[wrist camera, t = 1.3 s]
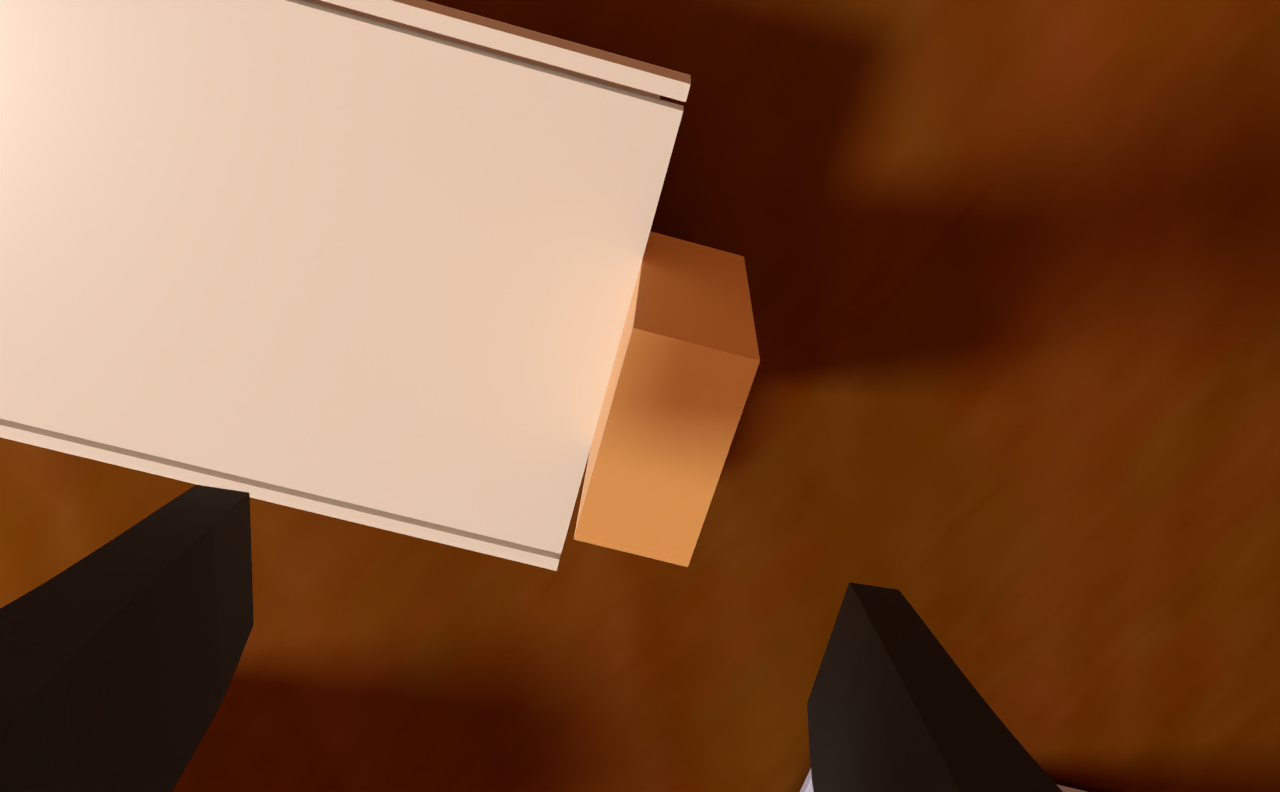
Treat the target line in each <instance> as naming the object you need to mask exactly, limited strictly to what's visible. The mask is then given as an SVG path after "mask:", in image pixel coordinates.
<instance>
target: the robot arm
mask: <svg viewBox="0 0 1280 792" xmlns="http://www.w3.org/2000/svg"><path fill="white" fill-rule="evenodd" d="M252 627H253V595H252V562H251V529H250V496H249V492H242V491H236V490H229V489H222V488H216V487H209V486H202V485H196V486H194V487H192V488H191V489H189V490H188V491H186V492H184V493H183V494H181V495H180V496H178V497H177V498H175V499H173V500H172V501H170V502H169V503H167V504H166V505H164V506H163V507H161V508H160V509H158V510H157V511H155V512H154V513H152V514H151V515H149V516H148V517H146V518H145V519H143V520H142V521H140V522H139V523H137V524H136V525H134V526H133V527H131V528H130V529H128V530H127V531H125V532H123V533H122V534H120V535H119V536H117V537H116V538H114V539H113V540H111V541H110V542H108V543H107V544H105V545H104V546H102V547H101V548H99V549H98V550H96V551H94V552H93V553H91V554H90V555H88V556H87V557H85V558H83V559H82V560H80V561H79V562H77V563H76V564H74V565H72V566H71V567H69V568H68V569H66V570H65V571H63V572H61V573H60V574H58V575H57V576H55V577H53V578H52V579H50V580H49V581H47V582H46V583H44V584H42V585H41V586H39V587H37V588H35V589H34V590H32V591H30V592H28V593H27V594H25V595H23V596H22V597H20V598H18V599H16V600H15V601H13V602H11V603H9V604H8V605H6V606H4V607H3V608H1V609H0V792H172V790H173V789H174V787H175V785H176V783H177V781H178V780H179V778H180V776H181V774H182V773H183V771H184V769H185V767H186V766H187V764H188V762H189V760H190V759H191V757H192V755H193V753H194V751H195V750H196V748H197V746H198V744H199V742H200V741H201V739H202V737H203V735H204V734H205V732H206V730H207V728H208V726H209V725H210V723H211V721H212V719H213V717H214V715H215V714H216V712H217V710H218V708H219V706H220V704H221V703H222V701H223V698H224V696H225V693H226V691H227V689H228V686H229V684H230V682H231V679H232V677H233V675H234V672H235V670H236V667H237V665H238V662H239V660H240V657H241V655H242V652H243V650H244V647H245V645H246V642H247V640H248V637H249V634H250V632H251V629H252ZM807 707H808V727H809V747H810V761H811V769H810V771H809V773H808V775H807V778H806V780H805V782H804V784H803V786H802V788H801V790H800V792H1087V791H1082V790H1078V789H1074V788H1069V787H1065V786H1061V785H1057V784H1056V783H1055V782H1054V781H1053V780H1052V779H1051V778H1050V777H1049V776H1048V775H1047V773H1046V772H1045V771H1044V770H1043V769H1042V768H1041V767H1040V766H1039V765H1038V763H1037V762H1036V761H1035V760H1034V759H1033V758H1032V757H1031V756H1030V755H1029V753H1028V752H1027V751H1026V750H1025V749H1024V747H1023V746H1022V745H1021V744H1020V743H1019V742H1018V740H1017V739H1016V738H1015V737H1014V736H1013V735H1012V733H1011V732H1010V731H1009V730H1008V729H1007V727H1006V726H1005V725H1004V724H1003V723H1002V721H1001V720H1000V719H999V718H998V717H997V715H996V714H995V713H994V712H993V710H992V709H991V708H990V707H989V706H988V704H987V703H986V702H985V701H984V699H983V698H982V697H981V696H980V694H979V693H978V692H977V691H976V689H975V688H974V687H973V686H972V684H971V683H970V682H969V680H968V679H967V678H966V677H965V675H964V674H963V673H962V672H961V670H960V669H959V668H958V666H957V665H956V664H955V662H954V661H953V660H952V659H951V657H950V656H949V655H948V653H947V652H946V651H945V649H944V648H943V647H942V646H941V644H940V643H939V642H938V640H937V639H936V638H935V636H934V635H933V634H932V632H931V631H930V630H929V628H928V627H927V626H926V624H925V623H924V622H923V621H922V619H921V618H920V617H919V615H918V614H917V613H916V611H915V610H914V609H913V608H912V606H911V605H910V604H909V602H908V601H907V600H906V599H905V597H904V596H903V595H902V594H901V592H900V591H899V590H896V589H890V588H883V587H876V586H870V585H863V584H856V583H849V585H848V588H847V591H846V594H845V597H844V599H843V602H842V605H841V608H840V611H839V614H838V617H837V620H836V622H835V625H834V628H833V631H832V634H831V637H830V640H829V643H828V645H827V648H826V651H825V654H824V657H823V660H822V663H821V666H820V668H819V671H818V674H817V677H816V680H815V683H814V686H813V688H812V691H811V694H810V697H809V700H808V703H807Z"/></svg>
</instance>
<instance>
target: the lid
mask: <svg viewBox="0 0 1280 792" xmlns="http://www.w3.org/2000/svg"><path fill="white" fill-rule="evenodd" d="M321 1H325V2H328V3H332V4H335V5H339V6H343V7H346V8H350V9H353V10H357V11H361V12H364V13H368V14H371V15H375V16H378V17H382V18H386V19H389V20H393V21H396V22H400V23H404V24H407V25H411V26H414V27H418V28H421V29H425V30H429V31H432V32H436V33H439V34H443V35H447V36H450V37H454V38H457V39H461V40H464V41H468V42H472V43H475V44H479V45H482V46H486V47H489V48H493V49H497V50H500V51H504V52H507V53H511V54H515V55H518V56H522V57H525V58H529V59H532V60H536V61H540V62H543V63H547V64H550V65H554V66H558V67H561V68H565V69H568V70H572V71H575V72H579V73H583V74H586V75H590V76H593V77H597V78H601V79H604V80H608V81H611V82H615V83H618V84H622V85H626V86H629V87H633V88H636V89H640V90H643V91H647V92H651V93H654V94H658V95H661V96H665V97H669V98H672V99H676V100H679V101H683V102H686V100H687V96H688V92H689V89H690V85H691V75H689V74H685V73H682V72H678V71H675V70H671V69H667V68H664V67H660V66H657V65H653V64H650V63H646V62H643V61H639V60H635V59H632V58H628V57H625V56H621V55H618V54H614V53H611V52H607V51H603V50H600V49H596V48H593V47H589V46H586V45H582V44H579V43H575V42H571V41H568V40H564V39H561V38H557V37H554V36H550V35H547V34H543V33H540V32H536V31H532V30H529V29H525V28H522V27H518V26H515V25H511V24H508V23H504V22H500V21H497V20H493V19H490V18H486V17H483V16H479V15H476V14H472V13H468V12H465V11H461V10H458V9H454V8H451V7H447V6H444V5H440V4H436V3H433V2H429V1H426V0H321ZM682 114H683V105H679V104H675V103H672V102H668V101H665V100H661V99H657V98H654V97H650V96H647V95H643V94H639V93H636V92H632V91H629V90H625V89H622V88H618V87H614V86H611V85H607V84H604V83H600V82H596V81H593V80H589V79H586V78H582V77H579V76H575V75H571V74H568V73H564V72H561V71H557V70H553V69H550V68H546V67H543V66H539V65H536V64H532V63H528V62H525V61H521V60H518V59H514V58H510V57H507V56H503V55H500V54H496V53H492V52H489V51H485V50H482V49H478V48H475V47H471V46H467V45H464V44H460V43H457V42H453V41H449V40H446V39H442V38H439V37H435V36H432V35H428V34H424V33H421V32H417V31H414V30H410V29H406V28H403V27H399V26H396V25H392V24H389V23H385V22H381V21H378V20H374V19H371V18H367V17H363V16H360V15H356V14H353V13H349V12H345V11H342V10H338V9H335V8H331V7H328V6H324V5H320V4H317V3H313V2H310V1H306V0H0V437H2V438H6V439H10V440H14V441H18V442H22V443H27V444H31V445H35V446H39V447H43V448H47V449H52V450H56V451H60V452H64V453H68V454H72V455H77V456H81V457H85V458H89V459H93V460H97V461H101V462H106V463H110V464H114V465H118V466H122V467H126V468H131V469H135V470H139V471H143V472H147V473H151V474H156V475H160V476H164V477H168V478H172V479H176V480H181V481H185V482H189V483H193V484H197V485H202V486H209V487H216V488H222V489H229V490H236V491H242V492H249V496H250V497H251V498H255V499H260V500H264V501H268V502H272V503H276V504H280V505H285V506H289V507H293V508H297V509H301V510H305V511H309V512H314V513H318V514H322V515H326V516H330V517H334V518H339V519H343V520H347V521H351V522H355V523H359V524H364V525H368V526H372V527H376V528H380V529H384V530H389V531H393V532H397V533H401V534H405V535H409V536H413V537H418V538H422V539H426V540H430V541H434V542H438V543H443V544H447V545H451V546H455V547H459V548H463V549H468V550H472V551H476V552H480V553H484V554H488V555H493V556H497V557H501V558H505V559H509V560H513V561H517V562H522V563H526V564H530V565H534V566H538V567H542V568H547V569H551V570H555V571H556V570H557V567H558V563H559V559H560V554H561V552H562V549H563V545H564V541H565V538H566V534H567V530H568V527H569V523H570V520H571V516H572V512H573V509H574V505H575V502H576V498H577V494H578V491H579V487H580V483H581V480H582V476H583V473H584V469H585V465H586V462H587V458H588V454H589V459H588V464H587V469H586V475H585V480H584V486H583V491H582V497H581V502H580V508H579V513H578V518H577V524H576V529H575V535H574V540H578V541H583V542H587V543H591V544H595V545H599V546H603V547H607V548H611V549H615V550H620V551H624V552H628V553H632V554H636V555H640V556H644V557H648V558H652V559H657V560H661V561H665V562H669V563H673V564H677V565H681V566H685V567H688V565H689V562H690V559H691V557H692V554H693V551H694V548H695V545H696V542H697V540H698V537H699V534H700V531H701V528H702V525H703V522H704V520H705V517H706V514H707V511H708V508H709V505H710V502H711V500H712V497H713V494H714V491H715V488H716V485H717V483H718V480H719V477H720V474H721V471H722V468H723V465H724V463H725V460H726V457H727V454H728V451H729V448H730V445H731V443H732V440H733V437H734V434H735V431H736V428H737V426H738V423H739V420H740V417H741V414H742V411H743V408H744V406H745V403H746V400H747V397H748V394H749V391H750V388H751V386H752V383H753V380H754V377H755V374H756V371H757V368H758V366H759V363H760V357H759V350H758V344H757V337H756V331H755V324H754V318H753V311H752V305H751V298H750V292H749V285H748V279H747V272H746V266H745V259H744V256H741V255H737V254H733V253H730V252H726V251H722V250H718V249H715V248H711V247H707V246H703V245H700V244H696V243H692V242H689V241H685V240H681V239H677V238H674V237H670V236H666V235H662V234H659V233H655V232H651V231H650V230H651V226H652V223H653V219H654V215H655V212H656V208H657V205H658V201H659V197H660V194H661V190H662V186H663V183H664V179H665V176H666V172H667V168H668V165H669V161H670V158H671V154H672V150H673V147H674V143H675V139H676V136H677V132H678V129H679V125H680V121H681V118H682ZM590 447H591V448H590ZM589 451H590V453H589Z"/></svg>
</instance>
